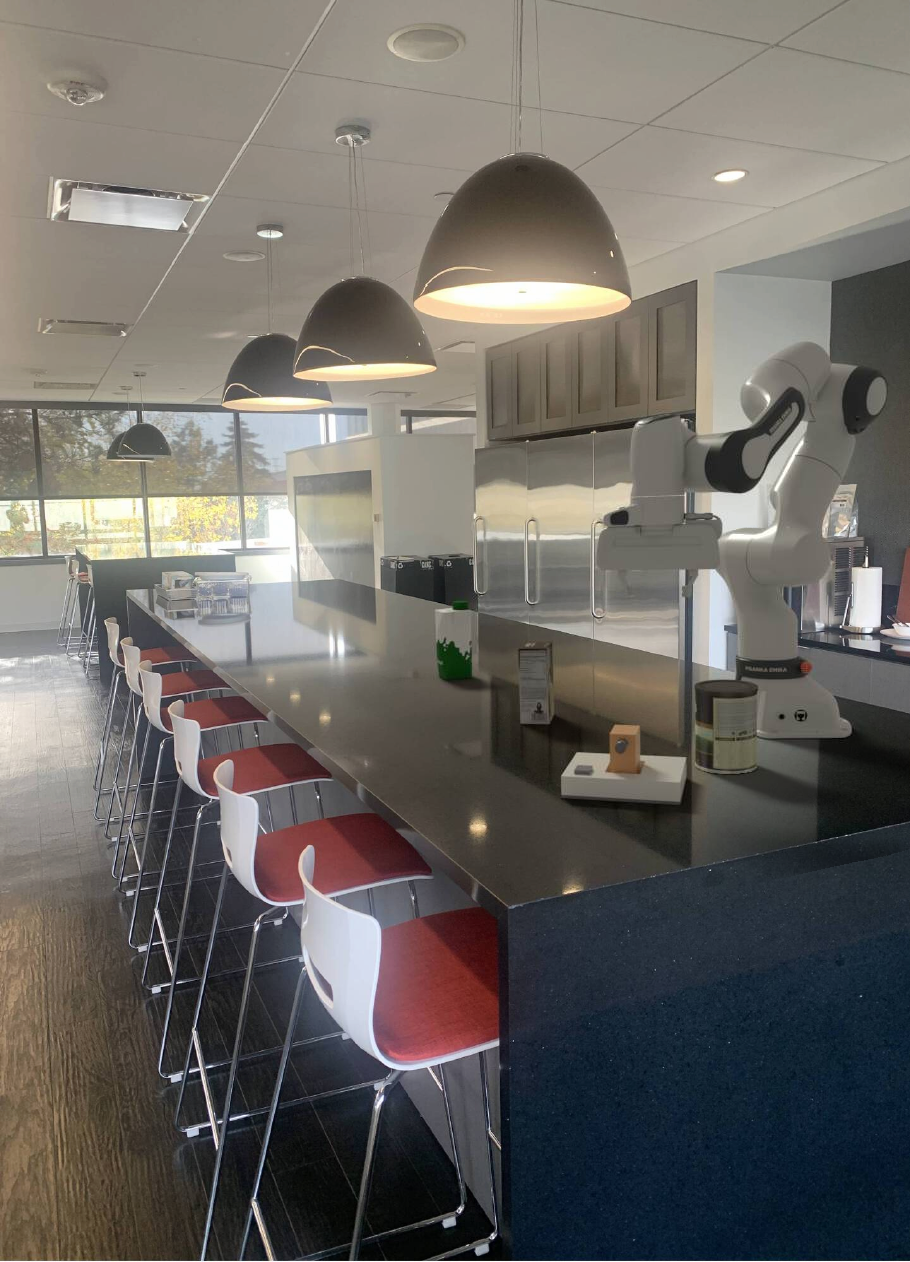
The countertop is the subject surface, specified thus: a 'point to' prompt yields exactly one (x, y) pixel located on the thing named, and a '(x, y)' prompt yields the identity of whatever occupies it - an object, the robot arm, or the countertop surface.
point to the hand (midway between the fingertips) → (657, 596)
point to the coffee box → (536, 682)
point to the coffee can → (726, 726)
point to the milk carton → (454, 641)
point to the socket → (625, 780)
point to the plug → (625, 749)
